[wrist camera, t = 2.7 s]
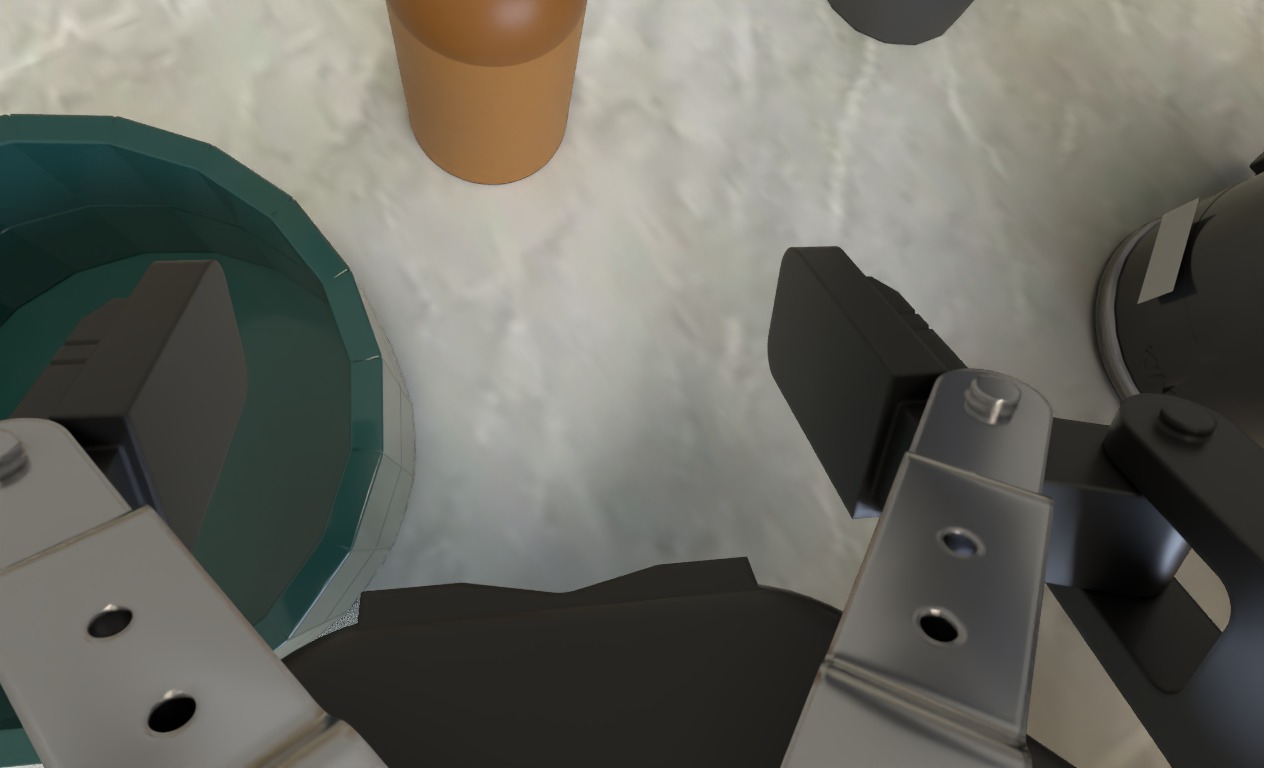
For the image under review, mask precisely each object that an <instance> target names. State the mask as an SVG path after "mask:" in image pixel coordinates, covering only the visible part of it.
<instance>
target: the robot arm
mask: <svg viewBox="0 0 1264 768" xmlns="http://www.w3.org/2000/svg"><path fill="white" fill-rule="evenodd" d="M1249 166H1250V168H1251V169H1252V170H1253V172H1254V173H1255V174H1256V176H1253V177H1251V178H1249V179H1247V180H1245V181H1242V182H1240V183H1238V184H1236V185H1233V186H1231V187H1229V188H1227V189H1225V190H1223V191H1221V192H1219V193H1217V194H1215V195H1213V196H1211V197H1209V198H1207V199H1205V200H1203V201H1201V202H1199V203H1198V201H1199V197H1198V198H1196V199H1194V200H1192V201H1190V202H1188V203H1186V204H1184V205H1182V206H1180V207H1178V208H1176V209H1174V210H1172V211H1170V212H1168V213H1166V214H1164V215H1163V217H1161V218H1159V219H1157V220H1155V221H1153V222H1150V223H1148V224H1146V225H1144V226H1143V227H1141V228H1139V229H1138V230H1136V231H1135V232H1133V233H1132V234H1131V235H1130V236H1129V237H1127V238H1126V239H1125V240H1124V241H1123V242H1122V243H1121V244H1120V245H1119V247H1118V248H1117V249H1116V251H1115V252H1114V253H1113V255H1112V257H1111V258H1110V260H1109V262H1108V263H1107V265H1106V268H1105V270H1104V272H1103V275H1102V278H1101V281H1100V284H1099V288H1098V293H1097V299H1096V308H1095V323H1096V334H1097V340H1098V346H1099V350H1100V354H1101V357H1102V360H1103V363H1104V366H1105V369H1106V371H1107V374H1108V376H1109V378H1110V381H1111V383H1112V384H1113V386H1114V388H1115V390H1116V392H1117V393H1118V395H1119V397H1120V398H1121V400H1122V403H1121V405H1120V407H1119V409H1118V411H1117V413H1116V415H1115V417H1114V419H1113V421H1112V423H1111V426H1108V425H1101V424H1094V423H1087V422H1080V421H1073V420H1066V419H1059V418H1054V417H1053V411H1052V408H1051V406H1050V404H1049V403H1048V401H1047V400H1046V399H1045V398H1044V397H1043V396H1042V395H1041V394H1040V393H1039V392H1038V391H1036V390H1035V389H1033V388H1032V387H1030V386H1029V385H1027V384H1025V383H1023V382H1022V381H1020V380H1017V379H1015V378H1013V377H1010V376H1007V375H1004V374H1001V373H998V372H994V371H989V370H983V369H972V368H967V366H966V365H965V364H964V363H963V362H962V361H961V360H960V359H959V358H958V357H957V356H956V354H955V353H954V352H953V351H952V350H951V349H950V348H949V347H948V346H947V345H946V344H945V342H944V341H943V340H942V339H941V338H940V337H939V336H938V335H937V334H936V333H935V332H934V330H933V329H929V325H928V324H927V323H926V322H925V321H924V320H923V318H922V317H921V316H920V315H919V314H915V310H914V309H913V308H912V307H911V305H910V304H909V303H908V302H907V301H906V300H905V299H904V298H903V297H902V296H901V295H900V293H899V292H897V291H895V290H894V289H892V288H890V287H888V286H887V285H885V284H883V283H881V282H880V281H878V280H876V279H874V278H873V277H866V276H865V275H864V274H863V273H862V272H861V271H860V269H859V268H858V267H857V266H856V265H855V264H854V263H853V261H852V260H851V259H850V258H849V257H848V256H847V255H846V254H845V252H844V251H843V250H842V249H841V248H840V247H838V246H825V247H790V248H788V249H787V250H786V252H785V254H784V256H783V259H782V262H781V267H780V273H779V278H778V284H777V290H776V296H775V301H774V307H773V313H772V318H771V324H770V330H769V336H768V361H769V366H770V370H771V373H772V376H773V378H774V380H775V381H776V383H777V385H778V387H779V389H780V390H781V392H782V394H783V396H784V398H785V399H786V401H787V403H788V405H789V406H790V408H791V410H792V412H793V414H794V415H795V417H796V419H797V421H798V423H799V424H800V426H801V428H802V430H803V432H804V433H805V435H806V437H807V439H808V440H809V442H810V444H811V446H812V448H813V449H814V451H815V453H816V455H817V457H818V458H819V460H820V462H821V464H822V465H823V467H824V469H825V471H826V473H827V474H828V476H829V478H830V480H831V482H832V483H833V485H834V487H835V489H836V491H837V492H838V494H839V496H840V498H841V499H842V501H843V503H844V505H845V507H846V508H847V510H848V512H849V514H850V516H851V517H852V519H858V518H870V517H880V518H879V521H878V523H877V526H876V529H875V531H874V534H873V536H872V539H871V542H870V544H869V547H868V549H867V552H866V554H865V557H864V560H863V562H862V565H861V567H860V570H859V573H858V575H857V578H856V580H855V583H854V585H853V588H852V591H851V593H850V596H849V598H848V601H847V603H846V606H845V609H844V611H843V612H842V611H840V610H838V609H836V608H834V607H833V606H831V605H828V604H826V603H823V602H821V601H819V600H816V599H814V598H812V597H809V596H805V595H802V594H799V593H796V592H793V591H789V590H785V589H780V588H775V587H771V586H764V585H758V584H757V581H756V579H755V576H754V574H753V571H752V568H751V566H750V563H749V561H748V558H747V557H738V558H727V559H716V560H705V561H694V562H683V563H672V564H661V565H656V566H653V567H649V568H646V569H643V570H640V571H636V572H633V573H630V574H627V575H624V576H620V577H617V578H614V579H611V580H608V581H604V582H601V583H598V584H595V585H591V586H588V587H585V588H582V589H579V590H575V591H571V592H565V593H553V592H543V591H534V590H525V589H515V588H506V587H497V586H488V585H478V584H469V583H454V584H443V585H432V586H421V587H410V588H399V589H388V590H377V591H366V592H361V598H360V607H359V615H358V623H357V624H354V625H351V626H348V627H344V628H341V629H339V630H337V631H334V632H332V633H329V634H327V635H324V636H322V637H320V638H318V639H316V640H314V641H312V642H310V643H308V644H306V645H304V646H302V647H300V648H298V649H296V650H295V651H293V652H291V653H290V654H288V655H287V656H285V657H284V658H282V659H279V657H278V656H277V655H276V654H275V653H274V652H273V650H272V649H271V648H270V647H269V646H268V644H267V643H266V642H265V641H264V640H263V638H262V637H261V636H260V635H259V634H258V633H257V631H256V630H255V629H254V628H253V627H252V625H251V624H250V623H249V622H248V621H247V619H246V618H245V617H244V616H243V615H242V614H241V612H240V611H239V610H238V609H237V608H236V606H235V605H234V604H233V603H232V602H231V600H230V599H229V598H228V597H227V596H226V594H225V593H224V592H223V591H222V590H221V589H220V587H219V586H218V585H217V584H216V583H215V581H214V580H213V579H212V578H211V577H210V575H209V574H208V573H207V572H206V571H205V570H204V568H203V567H202V566H201V565H200V564H199V562H198V561H197V560H196V559H195V558H194V556H193V555H192V551H193V548H194V545H195V543H196V540H197V537H198V534H199V531H200V529H201V526H202V523H203V520H204V517H205V515H206V512H207V509H208V506H209V503H210V501H211V498H212V495H213V492H214V489H215V487H216V484H217V481H218V478H219V475H220V473H221V470H222V467H223V464H224V461H225V459H226V456H227V453H228V450H229V447H230V445H231V442H232V439H233V436H234V433H235V430H236V428H237V425H238V422H239V419H240V416H241V414H242V411H243V408H244V405H245V402H246V398H247V390H248V374H247V365H246V359H245V354H244V350H243V346H242V342H241V338H240V334H239V330H238V326H237V322H236V318H235V314H234V310H233V306H232V302H231V298H230V294H229V289H228V285H227V281H226V278H225V274H224V272H223V269H222V267H221V265H220V264H219V262H218V261H216V260H178V261H154V262H153V263H152V264H151V265H150V266H149V268H148V269H147V271H146V272H145V274H144V275H143V277H142V278H141V280H140V281H139V283H138V284H137V286H136V287H135V289H134V290H133V292H132V293H131V295H130V296H129V298H113V299H112V300H110V301H109V302H107V303H105V304H104V305H102V306H101V307H99V308H98V309H96V310H94V311H93V312H91V313H90V314H88V315H87V316H85V317H83V318H82V319H81V320H80V321H79V323H78V324H77V326H76V327H75V328H74V330H73V331H72V332H71V334H70V335H69V336H68V338H67V339H66V340H65V346H61V347H60V349H59V350H58V351H57V353H56V354H55V355H54V357H53V358H52V359H51V365H49V366H46V368H45V369H44V370H43V372H42V373H41V374H40V376H39V377H38V378H37V380H36V381H35V382H34V384H33V385H32V387H31V388H30V389H29V391H28V392H27V393H26V395H25V396H24V397H23V399H22V400H21V401H20V403H19V404H18V405H17V407H16V408H15V410H14V411H13V412H12V414H11V415H10V416H9V418H8V419H7V420H0V684H1V685H2V687H3V689H4V691H5V693H6V695H7V697H8V699H9V701H10V703H11V705H12V707H13V708H14V710H15V712H16V714H17V716H18V718H19V720H20V722H21V724H22V726H23V728H24V730H25V732H26V733H27V735H28V737H29V739H30V741H31V743H32V745H33V747H34V749H35V751H36V753H37V755H38V756H39V758H40V760H41V762H42V764H43V766H44V768H1076V767H1075V766H1073V765H1072V764H1070V763H1069V762H1067V761H1066V760H1064V759H1063V758H1061V757H1060V756H1058V755H1057V754H1055V753H1054V752H1053V751H1051V750H1050V749H1048V748H1047V747H1045V746H1044V745H1042V744H1041V743H1039V742H1038V741H1036V740H1035V739H1033V738H1032V737H1030V736H1029V735H1027V734H1026V727H1027V719H1028V711H1029V703H1030V695H1031V687H1032V679H1033V671H1034V663H1035V655H1036V647H1037V639H1038V631H1039V623H1040V615H1041V607H1042V599H1043V591H1044V583H1045V582H1046V584H1047V585H1048V587H1049V589H1050V590H1051V592H1052V593H1053V595H1054V596H1055V598H1056V599H1057V600H1058V602H1059V603H1060V605H1061V606H1062V608H1063V609H1064V611H1065V612H1066V614H1067V615H1068V617H1069V618H1070V619H1071V621H1072V622H1073V624H1074V625H1075V627H1076V628H1077V630H1078V631H1079V633H1080V634H1081V635H1082V637H1083V638H1084V640H1085V641H1086V643H1087V644H1088V646H1089V647H1090V649H1091V650H1092V652H1093V653H1094V654H1095V656H1096V657H1097V659H1098V660H1099V662H1100V663H1101V665H1102V666H1103V668H1104V669H1105V670H1106V672H1107V673H1108V675H1109V676H1110V678H1111V679H1112V681H1113V682H1114V684H1115V685H1116V687H1117V688H1118V689H1119V691H1120V692H1121V694H1122V695H1123V697H1124V698H1125V700H1126V701H1127V703H1128V704H1129V705H1130V707H1131V708H1132V710H1133V711H1134V713H1135V714H1136V716H1137V717H1138V719H1139V720H1140V722H1141V723H1142V724H1143V726H1144V727H1145V729H1146V730H1147V732H1148V733H1149V735H1150V736H1151V738H1152V739H1153V740H1154V742H1155V743H1156V745H1157V746H1158V748H1159V749H1160V751H1161V752H1162V754H1163V755H1164V757H1165V758H1166V759H1167V761H1168V762H1169V764H1170V765H1171V767H1172V768H1264V152H1263V153H1262V154H1261V155H1260V156H1258V157H1257V158H1256V159H1255V160H1254V161H1253V162H1252V163H1251V164H1250V165H1249ZM1191 548H1192V549H1193V550H1194V551H1195V552H1196V553H1197V554H1198V555H1199V556H1200V557H1201V558H1202V559H1203V561H1204V562H1205V563H1206V564H1207V565H1208V566H1209V567H1210V568H1211V569H1212V570H1213V571H1214V573H1215V574H1216V575H1217V576H1218V577H1219V578H1220V580H1221V581H1222V582H1223V584H1224V586H1225V588H1226V590H1227V592H1228V595H1229V599H1230V604H1231V615H1230V620H1229V623H1228V625H1227V627H1226V628H1225V630H1224V631H1223V633H1222V632H1221V631H1220V629H1219V628H1218V627H1217V626H1216V625H1215V624H1214V623H1213V621H1212V620H1211V619H1210V618H1209V617H1208V616H1207V614H1206V613H1205V612H1204V611H1203V610H1202V609H1201V607H1200V606H1199V605H1198V604H1197V603H1196V602H1195V600H1194V599H1193V598H1192V597H1191V596H1190V595H1189V593H1188V592H1187V591H1186V590H1185V589H1184V588H1183V586H1182V585H1181V584H1180V583H1179V582H1178V581H1177V579H1176V578H1175V577H1174V575H1175V574H1176V572H1177V570H1178V569H1179V567H1180V566H1181V564H1182V562H1183V561H1184V559H1185V557H1186V556H1187V554H1188V553H1189V551H1190V549H1191Z"/></svg>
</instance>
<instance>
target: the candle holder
mask: <svg viewBox="0 0 1264 768" xmlns="http://www.w3.org/2000/svg"><path fill="white" fill-rule="evenodd" d="M973 1H974V0H829V2H830V4H831V6H832V8H833V9H834V10H835V11H837V12H838V13H839V14H840V15H841V16H842V17H843V18H844V19H845V20H846V21H847V22H848V23H849V24H850V25H852V26H853V27H854V28H855V29H856V30H858V31H860V32H862V33H865V34H867V35H869V36H871V37H874V38H876V39H878V40H880V41H883V42H885V43H897V44H914V45H916V44H919V43H921V42H924V41H927V40H930V39H932V38H935V37H938V36H941V35H942V34H943V33H944V32H945V31H946V30H947V29H948V28H949V27H950V26H951V25H952V24H953V23H954V22H955V21H956V20H957V19H958V18H959V17H960V16H961V14H962V13H963V12H964V11H965V10H966V9H967V8H968V7H969V5H970V4H971V3H972V2H973Z"/></svg>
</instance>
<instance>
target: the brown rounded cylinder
mask: <svg viewBox="0 0 1264 768" xmlns="http://www.w3.org/2000/svg"><path fill="white" fill-rule="evenodd" d="M586 4H587V0H386V5H387V10H388V14H389V19H390V24H391V29H392V34H393V39H394V44H395V49H396V54H397V59H398V64H399V68H400V73H401V78H402V83H403V88H404V93H405V98H406V103H407V108H408V113H409V118H410V122H411V127H412V130H413V132H414V135H415V137H416V139H417V141H418V143H419V145H420V146H421V148H422V149H423V150H424V152H425V153H426V154H427V155H428V156H429V158H430V159H431V160H432V161H433V162H435V163H436V164H437V165H438V166H439V167H441V168H442V169H444V170H445V171H447V172H448V173H450V174H452V175H454V176H457V177H459V178H462V179H464V180H467V181H471V182H476V183H482V184H502V183H509V182H513V181H516V180H520V179H522V178H525V177H527V176H529V175H531V174H533V173H534V172H536V171H538V170H539V169H540V168H541V167H543V166H544V165H545V164H546V163H547V162H548V161H549V160H550V159H551V158H552V157H553V155H554V154H555V152H556V151H557V149H558V147H559V146H560V144H561V142H562V139H563V136H564V133H565V128H566V122H567V117H568V111H569V105H570V99H571V93H572V87H573V81H574V75H575V69H576V63H577V58H578V52H579V46H580V40H581V34H582V28H583V22H584V16H585V10H586Z"/></svg>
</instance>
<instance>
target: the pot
mask: <svg viewBox="0 0 1264 768" xmlns="http://www.w3.org/2000/svg"><path fill="white" fill-rule="evenodd" d="M178 260H216V261H218V262H219V264H220V265H221V267H222V269H223V272H224V274H225V278H226V281H227V285H228V289H229V294H230V298H231V302H232V306H233V310H234V314H235V318H236V322H237V326H238V330H239V334H240V338H241V342H242V346H243V350H244V354H245V359H246V365H247V374H248V390H247V398H246V402H245V405H244V408H243V411H242V414H241V416H240V419H239V422H238V425H237V428H236V430H235V433H234V436H233V439H232V442H231V445H230V447H229V450H228V453H227V456H226V459H225V461H224V464H223V467H222V470H221V473H220V475H219V478H218V481H217V484H216V487H215V489H214V492H213V495H212V498H211V501H210V503H209V506H208V509H207V512H206V515H205V517H204V520H203V523H202V526H201V529H200V531H199V534H198V537H197V540H196V543H195V545H194V548H193V551H192V555H193V556H194V558H195V559H196V560H197V561H198V562H199V564H200V565H201V566H202V567H203V568H204V570H205V571H206V572H207V573H208V574H209V575H210V577H211V578H212V579H213V580H214V581H215V583H216V584H217V585H218V586H219V587H220V589H221V590H222V591H223V592H224V593H225V594H226V596H227V597H228V598H229V599H230V600H231V602H232V603H233V604H234V605H235V606H236V608H237V609H238V610H239V611H240V612H241V614H242V615H243V616H244V617H245V618H246V619H247V621H248V622H249V623H250V624H251V625H252V627H253V628H254V629H255V630H256V631H257V633H258V634H259V635H260V636H261V637H262V638H263V640H264V641H265V642H266V643H267V644H268V646H269V647H270V648H271V649H272V650H273V652H274V653H275V654H276V655H277V656H278V657H279V659H282V658H284V657H285V656H287V655H288V654H290V653H291V652H293V651H295V650H296V649H298V648H300V647H302V646H304V645H306V644H308V643H309V642H311V641H312V640H314V639H315V638H317V637H318V636H319V635H321V634H322V633H323V632H324V631H325V630H326V629H327V628H328V627H330V626H331V625H332V624H333V623H335V622H336V621H337V620H338V619H340V618H341V617H342V616H343V615H345V614H346V612H347V611H348V610H349V609H350V608H351V607H352V605H353V604H354V602H355V601H356V599H357V598H358V597H359V596H360V595H361V592H363V591H364V590H365V589H366V587H367V586H368V584H369V583H370V581H371V580H372V578H373V577H374V575H375V574H376V572H377V571H378V570H379V568H380V567H381V565H382V564H383V562H384V560H385V558H386V556H387V555H388V553H389V552H390V550H391V547H392V546H393V544H394V541H395V538H396V536H397V534H398V531H399V528H400V525H401V522H402V520H403V517H404V514H405V511H406V508H407V504H408V500H409V495H410V490H411V486H412V483H413V480H414V478H413V477H414V460H415V435H414V420H413V408H412V407H413V405H412V402H411V399H410V397H409V394H408V391H407V388H406V385H405V382H404V380H403V377H402V374H401V371H400V368H399V366H398V363H397V360H396V358H395V355H394V352H393V349H392V347H391V344H390V342H389V340H388V338H387V336H386V334H385V333H384V331H383V329H382V327H381V325H380V323H379V321H378V319H377V318H376V316H375V314H374V312H373V310H372V308H371V307H370V305H369V303H368V301H367V299H366V297H365V295H364V293H363V292H362V290H361V288H360V286H359V284H358V282H357V280H356V279H355V277H354V275H353V273H352V271H351V270H350V268H349V267H348V265H347V264H346V263H345V262H344V260H343V259H342V258H341V257H340V255H339V254H338V253H337V252H336V250H335V249H334V248H333V247H332V245H331V244H330V243H329V242H328V240H327V239H326V238H325V237H324V235H323V234H322V233H321V232H320V230H319V229H318V228H317V227H316V225H315V224H314V223H313V222H312V220H311V219H310V218H309V217H308V215H307V214H306V213H305V212H304V210H303V209H302V208H301V207H300V205H299V204H298V203H297V202H296V201H295V200H294V199H293V198H292V197H291V196H290V195H289V194H287V193H286V192H284V191H282V190H281V189H279V188H278V187H276V186H275V185H273V184H272V183H270V182H269V181H267V180H266V179H264V178H263V177H261V176H260V175H258V174H257V173H255V172H254V171H252V170H251V169H249V168H248V167H246V166H245V165H243V164H242V163H240V162H238V161H237V160H235V159H234V158H232V157H231V156H229V155H228V154H226V153H225V152H223V151H222V150H220V149H219V148H217V147H216V146H212V145H211V144H209V143H205V142H202V141H199V140H195V139H192V138H189V137H185V136H182V135H179V134H175V133H172V132H169V131H165V130H162V129H159V128H155V127H152V126H149V125H145V124H142V123H139V122H135V121H132V120H129V119H125V118H122V117H118V116H116V117H113V116H92V115H43V114H11V115H10V116H9V115H2V116H0V420H7V419H8V418H9V416H10V415H11V414H12V412H13V411H14V410H15V408H16V407H17V405H18V404H19V403H20V401H21V400H22V399H23V397H24V396H25V395H26V393H27V392H28V391H29V389H30V388H31V387H32V385H33V384H34V382H35V381H36V380H37V378H38V377H39V376H40V374H41V373H42V372H43V370H44V369H45V368H46V366H49V365H51V359H52V358H53V357H54V355H55V354H56V353H57V351H58V350H59V349H60V347H61V346H65V340H66V339H67V338H68V336H69V335H70V334H71V332H72V331H73V330H74V328H75V327H76V326H77V324H78V323H79V321H80V320H81V319H82V318H83V317H85V316H87V315H88V314H90V313H91V312H93V311H94V310H96V309H98V308H99V307H101V306H102V305H104V304H105V303H107V302H109V301H110V300H112V299H113V298H129V296H130V295H131V293H132V292H133V290H134V289H135V287H136V286H137V284H138V283H139V281H140V280H141V278H142V277H143V275H144V274H145V272H146V271H147V269H148V268H149V266H150V265H151V264H152V263H153V262H154V261H178ZM34 764H42V762H41V760H40V758H39V756H38V755H37V753H36V751H35V749H34V747H33V745H32V743H31V741H30V739H29V737H28V735H27V733H26V732H25V730H24V728H23V726H22V724H21V722H20V720H19V718H18V716H17V714H16V712H15V710H14V708H13V707H12V705H11V703H10V701H9V699H8V697H7V695H6V693H5V691H4V689H3V687H2V685H1V684H0V768H4V767H14V766H24V765H34Z"/></svg>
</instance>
